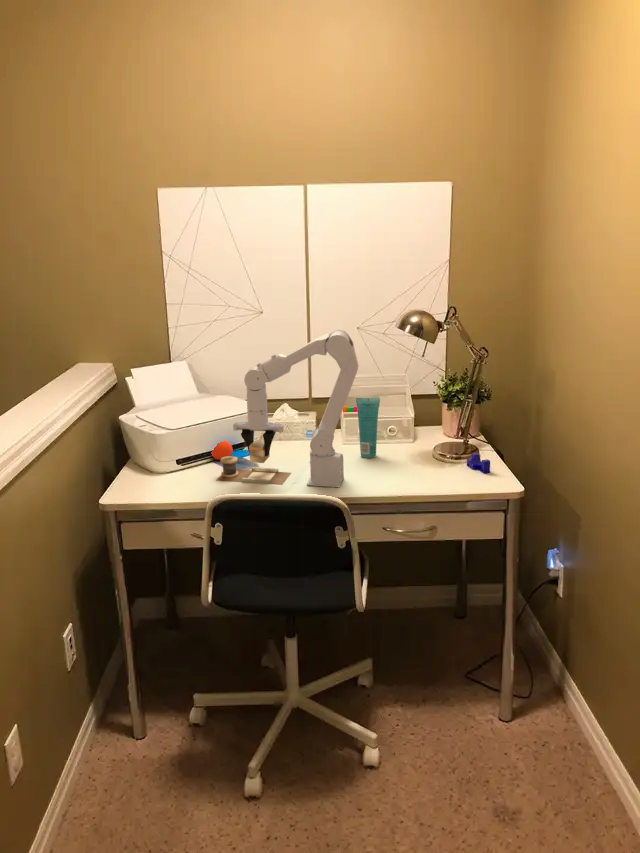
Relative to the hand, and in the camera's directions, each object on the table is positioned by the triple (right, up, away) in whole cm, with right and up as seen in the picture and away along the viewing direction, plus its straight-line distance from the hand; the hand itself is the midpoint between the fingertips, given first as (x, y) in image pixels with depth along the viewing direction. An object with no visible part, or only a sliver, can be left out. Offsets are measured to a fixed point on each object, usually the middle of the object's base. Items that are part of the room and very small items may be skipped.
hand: (259, 454), depth 213 cm
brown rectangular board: (-2, -8, +3) cm, 9 cm away
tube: (+33, -1, +22) cm, 40 cm away
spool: (-9, -6, +4) cm, 12 cm away
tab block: (0, -1, +1) cm, 1 cm away
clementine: (-14, -3, +20) cm, 25 cm away
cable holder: (+65, -5, +9) cm, 66 cm away
